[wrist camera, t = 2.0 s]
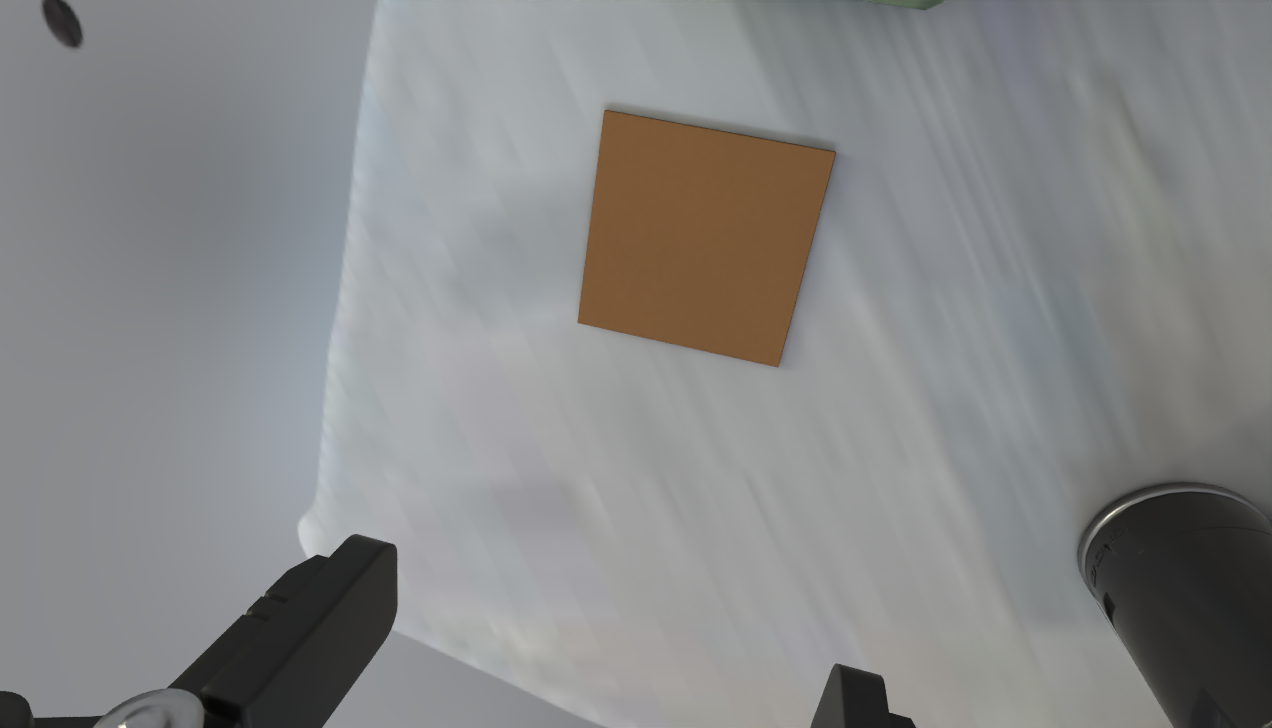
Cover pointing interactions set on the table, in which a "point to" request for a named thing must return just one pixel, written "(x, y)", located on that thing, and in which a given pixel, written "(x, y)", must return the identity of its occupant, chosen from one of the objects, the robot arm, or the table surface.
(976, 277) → the table surface
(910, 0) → the bin
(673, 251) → the cork mat
